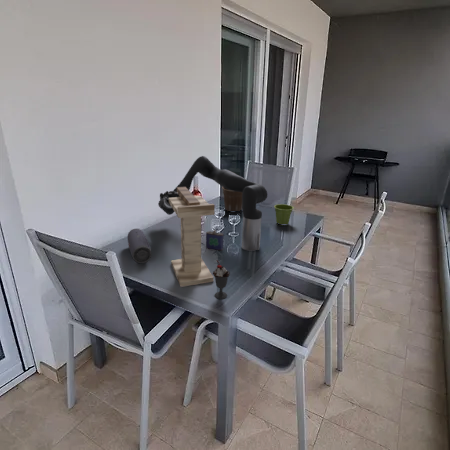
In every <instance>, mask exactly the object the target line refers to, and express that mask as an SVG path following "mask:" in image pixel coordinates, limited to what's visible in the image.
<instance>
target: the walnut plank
mask: <svg viewBox="0 0 450 450" xmlns="http://www.w3.org/2000/svg"><path fill="white" fill-rule="evenodd" d="M176 187H177V186H176ZM177 194H178V195H179V196H180V197H181V199H182V200H183V201H184V202H185V204H186V205H187V206H191V205H200V202H199V201H198V200H197V199H196V198H195V196H196V195H194V194H193V193H192V191H190V189H189V190H188V189H187V188H186V187H177Z"/></svg>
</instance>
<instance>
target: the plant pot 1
mask: <svg viewBox="0 0 450 450" xmlns="http://www.w3.org/2000/svg"><path fill="white" fill-rule="evenodd" d="M221 188H222V191H223V192H222V193H223V203H224V210H225V209H226V210H227V211H226V210H225V211H226V212H228V211H240V210H242V192H237V191H232V190H228V189H226V188H224V187H223V186H221ZM240 212H241V211H240Z"/></svg>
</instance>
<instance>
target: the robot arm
mask: <svg viewBox="0 0 450 450" xmlns="http://www.w3.org/2000/svg"><path fill="white" fill-rule="evenodd" d="M198 173H199V174H200V176H203V177H205V178H208V179H210V180H213V181H214V182H215V183H216V184H218V185H220V186H221V187H224V188H226V189H228V190H232V191H237V192H242V211H241V212H242V214H243V216H242V230H241V231H242V233H241V248H242V249H243V251H247V252H255V250H259V251H260V245H261V234H262V230H261V229H262V219H263V218H262V217H263V216H262V213H263V212H262V211H261V210H260V209H258V208H257V204H260V203H264V202H265V201H266V199H267V198H268V191H267V189H266V188H265V186H263V185H262V184H259V183H258V182H254V181H251V180H249V179H247V178H245V177H243V176H241V175H238V174H237V173H235V172H233V171H231V170H229V169H226V168H225V169H220V168H219V167H217V166H216V165H215V164H214V163H213V162H211V160H210V159H209V158H207V156H204V155H201V156H199V157H198V158H196V159H195V161H194V162H193V163H192V164H191V167H190V168H189V170H188V171H187V172H186V174H185V175H184V177H183V178H182V180H181V181H180V182H179V184H177V186H176V187H175V188H174V189H173V190H171V191H170V190H169V191H168V190H166V191H165V192H164V193H163V192H161V193H159V201H158V205H157V206H158V207H159V208H160V209H161V210H162V211H163V212H164V213H166V214H167V216H170V215H173V214H174V213H175V211H174V210H173V208H172V207H171V205H170V203H169V198H174V197H180V196H179V195H178V194H177V187H186V188H187V189H188V190H189V191H190V189H191V186H192V183H193V180H194V179H195V177H196V175H197V174H198Z"/></svg>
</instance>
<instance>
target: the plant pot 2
mask: <svg viewBox="0 0 450 450" xmlns="http://www.w3.org/2000/svg"><path fill="white" fill-rule="evenodd" d="M273 206H274V211H275V220H276V222H277V223H279V224H288V225H289V221H290V219H291V215H292V211H293V210H294V208H295V207H294V206H292V205H290V204H284V203H279V204H275V205H273ZM277 223H276V224H277Z"/></svg>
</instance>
